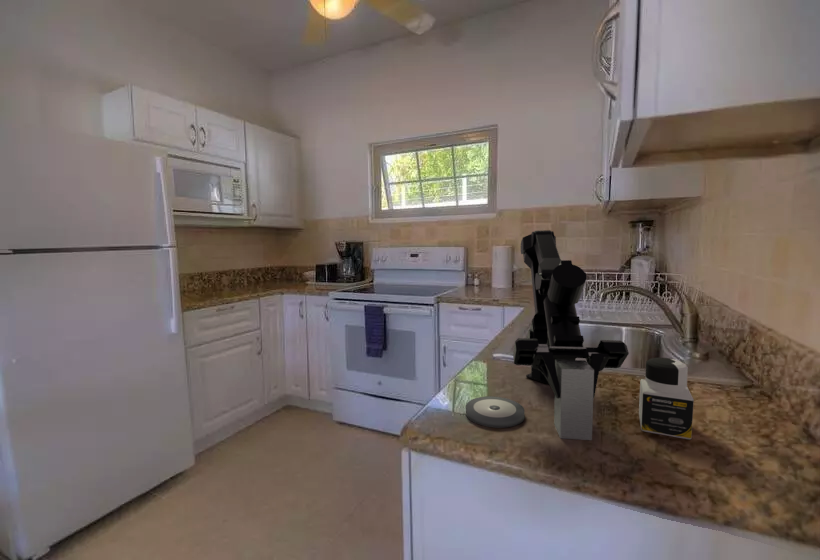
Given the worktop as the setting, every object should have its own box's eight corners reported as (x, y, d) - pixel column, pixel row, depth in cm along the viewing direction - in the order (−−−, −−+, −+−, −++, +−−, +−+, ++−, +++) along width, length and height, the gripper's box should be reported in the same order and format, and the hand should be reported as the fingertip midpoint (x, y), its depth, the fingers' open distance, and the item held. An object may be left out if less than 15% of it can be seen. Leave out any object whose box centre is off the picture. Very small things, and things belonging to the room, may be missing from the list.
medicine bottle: (641, 431, 66) (644, 363, 65) (638, 414, 72) (641, 352, 71) (691, 440, 63) (695, 369, 62) (684, 422, 69) (688, 357, 68)
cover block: (554, 424, 69) (555, 359, 68) (583, 425, 68) (585, 360, 67) (560, 438, 64) (561, 368, 63) (591, 440, 63) (594, 370, 62)
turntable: (491, 397, 81) (491, 391, 81) (536, 415, 73) (536, 409, 72) (453, 412, 75) (453, 405, 75) (498, 434, 66) (498, 427, 66)
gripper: (602, 342, 79) (621, 418, 69) (509, 340, 82) (514, 412, 72) (618, 311, 70) (641, 393, 60) (513, 310, 73) (519, 388, 63)
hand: (575, 398), depth 64 cm, fingers closed on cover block, 5 cm apart
